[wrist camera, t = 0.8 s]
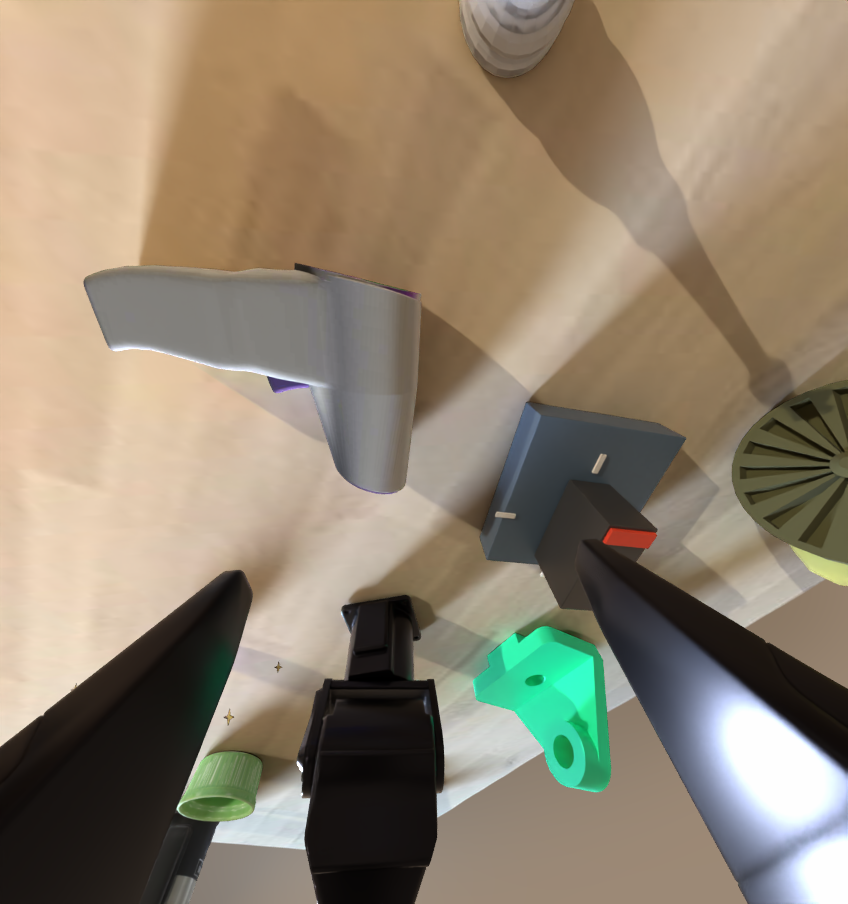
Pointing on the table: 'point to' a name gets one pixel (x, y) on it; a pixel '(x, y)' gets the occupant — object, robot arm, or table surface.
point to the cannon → (801, 477)
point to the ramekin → (222, 787)
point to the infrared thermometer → (287, 345)
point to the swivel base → (569, 471)
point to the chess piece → (511, 32)
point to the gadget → (588, 536)
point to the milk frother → (179, 861)
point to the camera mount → (555, 701)
